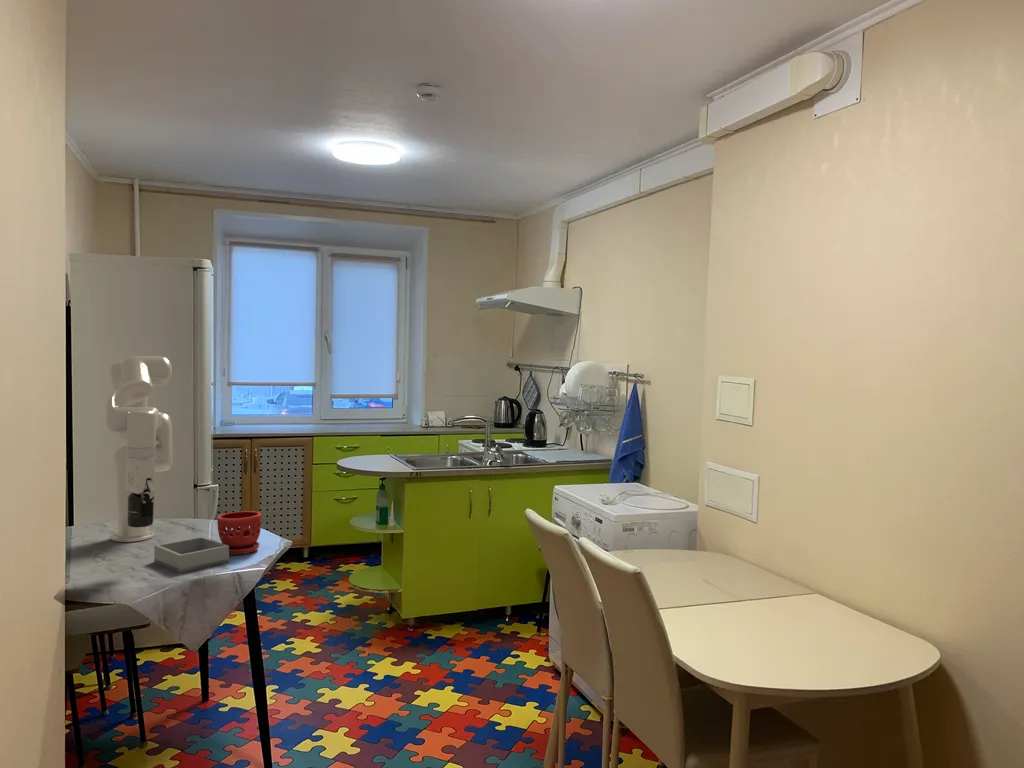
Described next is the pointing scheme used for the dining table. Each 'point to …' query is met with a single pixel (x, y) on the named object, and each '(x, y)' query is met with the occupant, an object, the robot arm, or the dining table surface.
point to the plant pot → (240, 531)
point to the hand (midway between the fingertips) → (140, 513)
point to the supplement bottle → (137, 512)
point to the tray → (191, 554)
